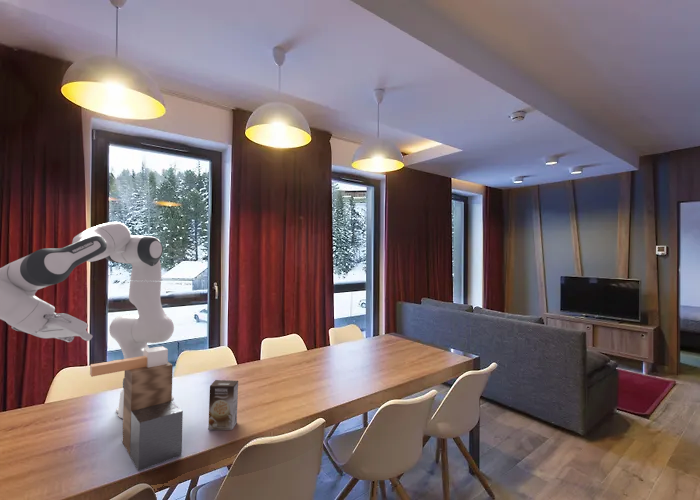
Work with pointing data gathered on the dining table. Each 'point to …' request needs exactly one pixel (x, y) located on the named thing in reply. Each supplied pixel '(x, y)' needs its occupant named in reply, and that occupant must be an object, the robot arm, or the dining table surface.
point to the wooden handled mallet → (132, 362)
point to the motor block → (156, 434)
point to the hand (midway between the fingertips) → (80, 339)
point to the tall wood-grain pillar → (144, 392)
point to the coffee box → (223, 405)
